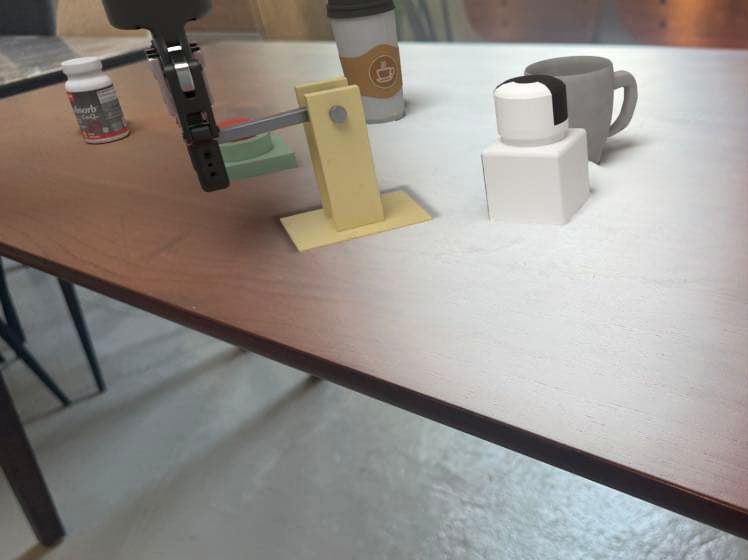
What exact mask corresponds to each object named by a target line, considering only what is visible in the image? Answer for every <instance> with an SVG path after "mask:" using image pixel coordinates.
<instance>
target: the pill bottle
mask: <svg viewBox="0 0 748 560" xmlns="http://www.w3.org/2000/svg"><path fill="white" fill-rule="evenodd" d="M60 67H61V70H62V73H63V74H64V75H65V76H66V77H67V80H66V82H65V84H64V89H65V92H66V95H67V98H68V100H69V103H70V105H71V108H72V111H73V114H74V116H75V119H76V122H77V124H78V127H79V130H80V132H81V135H82V138H83V140H84V141H85V142H86V143H88V144H106V143H110V142H116V141H118V140H121V139H123V138H126V137H127V136H128V135H129V132H130V130H129V127H128V124H127V121H126V118H125V115H124V112H123V109H122V107H121V104H120V100H119V98H118V95H117V92H116V89H115V86H114V83H113V80H112V79H111V77H110V76H109V75H107V74H105V73H104V72H103V63H102V61H101V58H100V57H99V56H84V57H77V58H72V59H68V60H67V59H66V60H65V61H62V62H61V63H60Z"/></svg>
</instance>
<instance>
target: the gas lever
mask: <svg viewBox="0 0 748 560" xmlns="http://www.w3.org/2000/svg"><path fill="white" fill-rule="evenodd" d="M308 121H310V120H309V116H308V111H307V107H306V106H305V107H301V108H299V107H298V108H294V109H291V110H286V111H282V112H278V113H275V114H270V115H266V116H262V117H258V118H255V119H251V120H250V121H246V122H242V123H238V124H234V125H230V126H226V127H222V128H219V129H220V133H219V134H220V135H219V136H220V138H219V140H218V144H223V143H227V142H231V141H235V140H239V139H243V138H246V137H250V136H254V135H258V134H262V133H266V132H270V133H271V132H273V131H277V130H281V129H285V128H289V127H292V126H293V127H294V126H296V125H301V124H303V123H304V122H308Z"/></svg>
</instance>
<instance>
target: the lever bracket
mask: <svg viewBox="0 0 748 560" xmlns="http://www.w3.org/2000/svg"><path fill="white" fill-rule="evenodd" d="M293 89H294V92H295V97H296V101H297V105H298V108H301V107H305V106H306V107H307V111H308V116H309V120H310V121H308V122H304V123H302V126H303V130H304V134H305V138H306V143H307V147H308V151H309V156H310V160H311V165H312V168H313V172H314V177H315V181H316V185H317V190H318V194H319V198H320V202H321V206H322V208H319V209H315V210H311V211H306V212H303V213H302V212H301V213H297V214H293V215H290V216H285V217H281V218H279V222H280V223H281V225H282V226H283V228H284V230H285V231H286V233H287V234H288V236H289V238H290V239H291V241H292V243H293V244H294V246H295V247H296V249H297V251H298V252H299V253H300V254H301V253H304V252H308V251H309V252H310V251H313V250H317V249H320V248H325V247H328V246H329V247H330V246H333V245H336V244H341V243H344V242H345V243H346V242H350V241H353V240H358V239H361V238H364V237H365V238H366V237H369V236H373V235H377V234H381V233H386V232H390V231H393V230H397V229H401V228H405V227H409V226H414V225H417V224H422V223H425V222H429V221H433V217H432V216H431V215H430V214H429V213H428V212H427V211H426V210H424V208H422V207H421V205H419V204H418V202H416V201H415V200H414V199H413V198H411V196H409V194H408V193H406V192H405V191H404V189H402V190H396V191H392V192H388V193H387V192H386V193H383V194H381V193H380V192H381V191H380V188H379V182H378V177H377V173H376V167H375V163H374V157H373V151H372V146H371V140H370V136H369V131H368V125H367V124H366V121H365V116H364V111H363V106H362V101H361V95H360V90H359V87H358V86H357V85H350V86H348V82H347V78H346V77H344V75H343V76H337V77H332V78H327V79H322V80H315V81H311V82H306V83H301V84H294V85H293Z"/></svg>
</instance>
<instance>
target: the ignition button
mask: <svg viewBox="0 0 748 560" xmlns="http://www.w3.org/2000/svg"><path fill="white" fill-rule="evenodd" d="M250 120H252V119H251V118H244V117H243V118H234V119H227V120H224V121H221V122H219V123H216V125H217V126H219V128H222V127H226V126H230V125H234V124H238V123H242V122H246V121H250ZM254 136H256V135H254ZM254 136H250V137H246V138H243V139H239V140H235V141H231V142H236V141H241V140H246V139H249V138H252V137H254Z"/></svg>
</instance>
